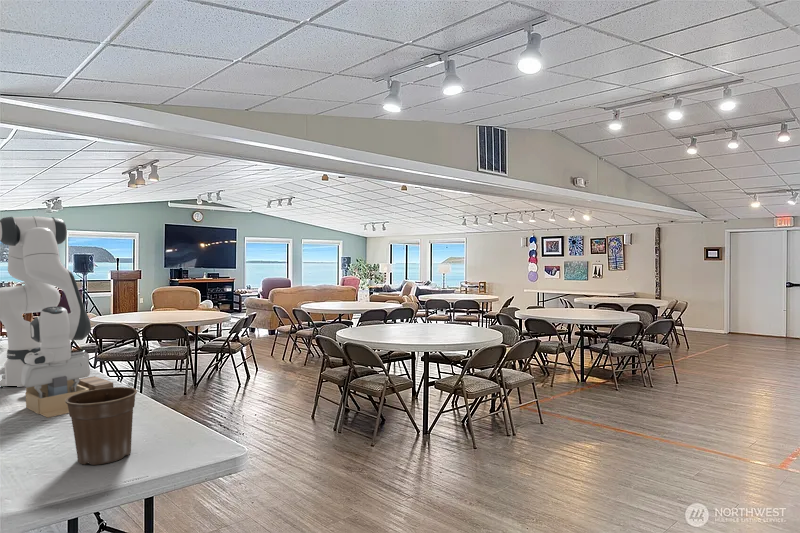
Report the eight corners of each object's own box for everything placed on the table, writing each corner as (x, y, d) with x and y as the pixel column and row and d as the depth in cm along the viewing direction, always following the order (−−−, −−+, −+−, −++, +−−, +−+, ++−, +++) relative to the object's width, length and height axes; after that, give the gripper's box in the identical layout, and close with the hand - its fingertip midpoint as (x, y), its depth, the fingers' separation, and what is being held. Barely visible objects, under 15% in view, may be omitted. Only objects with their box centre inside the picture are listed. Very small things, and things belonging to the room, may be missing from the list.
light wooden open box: (25, 407, 189) (23, 369, 189) (75, 397, 201) (73, 361, 200) (45, 418, 176) (44, 377, 176) (98, 406, 188) (96, 368, 188)
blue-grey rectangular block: (48, 405, 191) (47, 376, 191) (61, 402, 194) (60, 374, 194) (55, 408, 187) (53, 378, 187) (68, 405, 190) (66, 376, 190)
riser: (77, 395, 203) (77, 379, 202) (95, 392, 207) (94, 376, 207) (95, 403, 192) (95, 386, 192) (113, 399, 197) (113, 382, 197)
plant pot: (60, 457, 143) (57, 395, 143) (126, 440, 155) (124, 383, 154) (78, 475, 132) (75, 407, 131) (148, 456, 143) (146, 393, 142)
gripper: (85, 349, 200) (86, 387, 201) (18, 358, 184) (20, 400, 185) (92, 350, 196) (94, 389, 196) (25, 361, 180) (27, 403, 181)
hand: (57, 394), depth 191 cm, fingers open, 8 cm apart
